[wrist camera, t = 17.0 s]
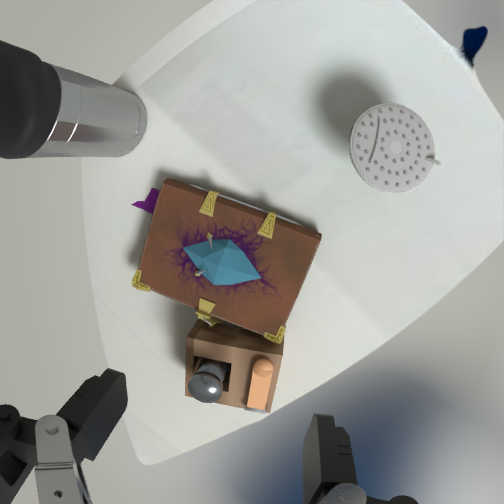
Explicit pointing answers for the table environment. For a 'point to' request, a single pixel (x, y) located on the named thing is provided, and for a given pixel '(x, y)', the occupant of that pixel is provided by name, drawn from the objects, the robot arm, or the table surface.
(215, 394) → the pin
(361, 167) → the showerhead
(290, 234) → the book
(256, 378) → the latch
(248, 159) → the table surface
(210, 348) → the block
